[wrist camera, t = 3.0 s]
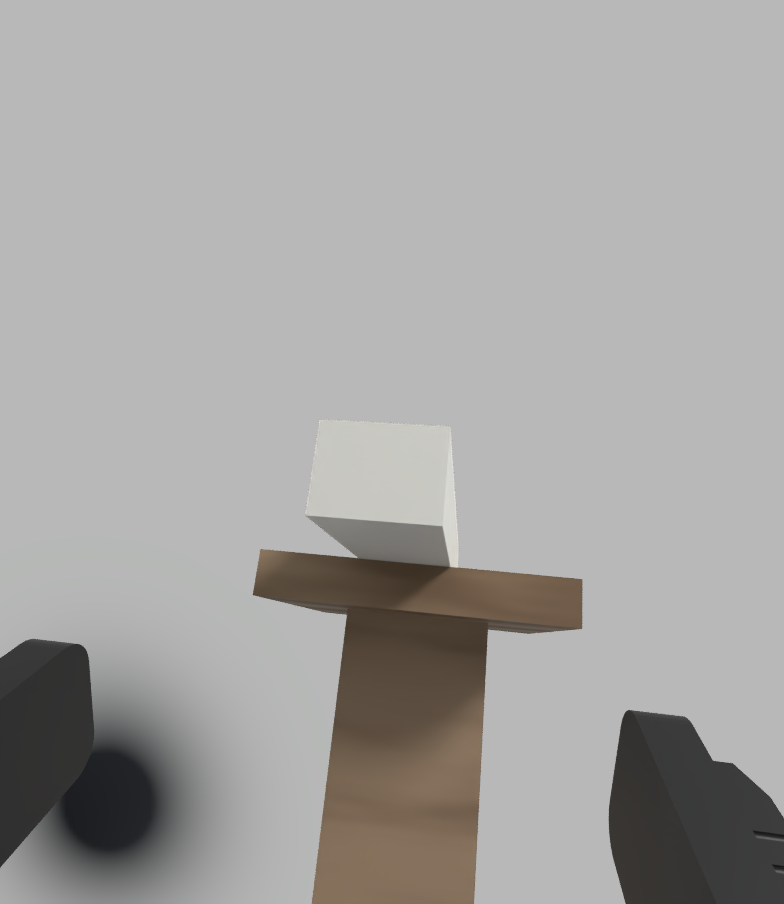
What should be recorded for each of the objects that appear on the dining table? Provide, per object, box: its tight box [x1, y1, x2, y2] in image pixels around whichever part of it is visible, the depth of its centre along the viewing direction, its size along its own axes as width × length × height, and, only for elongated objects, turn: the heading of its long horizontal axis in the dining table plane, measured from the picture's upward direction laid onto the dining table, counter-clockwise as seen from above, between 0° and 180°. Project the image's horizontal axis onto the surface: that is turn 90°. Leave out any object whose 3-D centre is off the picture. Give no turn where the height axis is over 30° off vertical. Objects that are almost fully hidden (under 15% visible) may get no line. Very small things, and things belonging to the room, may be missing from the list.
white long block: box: [305, 419, 459, 568], centre depth 30 cm, size 27×4×4 cm, turn 173°
